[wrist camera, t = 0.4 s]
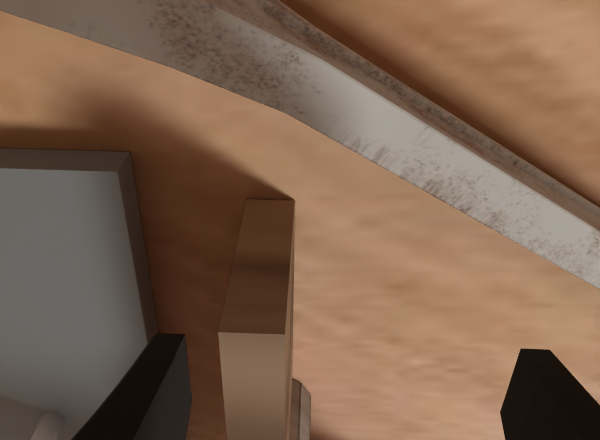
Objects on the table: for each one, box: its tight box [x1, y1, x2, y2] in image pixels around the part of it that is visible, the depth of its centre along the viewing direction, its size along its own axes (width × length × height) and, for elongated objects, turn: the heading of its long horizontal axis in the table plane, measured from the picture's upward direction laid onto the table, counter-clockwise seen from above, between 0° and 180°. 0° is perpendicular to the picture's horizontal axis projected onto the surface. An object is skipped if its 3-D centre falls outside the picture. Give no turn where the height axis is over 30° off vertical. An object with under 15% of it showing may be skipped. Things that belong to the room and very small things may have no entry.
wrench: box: [0, 0, 600, 289], centre depth 17 cm, size 8×2×30 cm
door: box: [218, 199, 311, 440], centre depth 22 cm, size 13×4×7 cm, turn 179°
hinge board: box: [0, 148, 159, 440], centre depth 23 cm, size 18×10×4 cm, turn 179°
